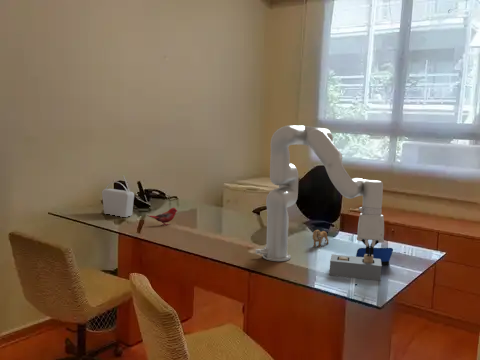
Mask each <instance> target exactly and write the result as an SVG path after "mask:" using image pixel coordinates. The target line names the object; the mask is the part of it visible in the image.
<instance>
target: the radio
mask: <svg viewBox="0 0 480 360" xmlns="http://www.w3.org/2000/svg"><path fill="white" fill-rule="evenodd" d="M122 178H123V179H124V183H125V185H126V186H125V185H124V184H122V183H121V182H119V181H116V183H117V184H120V185H121V186H123V188H124V190H123V189H116V188H108V187H109V186H110V185H111V184H113V183H114V181H112V182H110V183H109V184H108V185H107V186H106V187H105V188H104V189H102V191H101V195H102V196H101V197H102V205H103V214H105V215H106V214H110V215H109V216H112V215H115V216H114V217H117V216H120V217H119V218H122V217H126V218H129V217H128V216H130V217H132V216H133V212H134V211H133V208H134V200H135V192H133V191H130V190H131V189H129V186H128V182H127V180H126V178H125V175H122ZM131 215H132V216H131Z"/></svg>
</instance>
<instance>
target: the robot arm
mask: <svg viewBox="0 0 480 360" xmlns="http://www.w3.org/2000/svg"><path fill="white" fill-rule="evenodd" d="M333 139H334V137H333V134H332V132H331V131H330V130H329V129H328V128H324V127H315V126H308V125H307V126H306V125H299V124H298V125H297V124H296V125H295V124H294V125H293V124H288V125H284V126H282V127H280V128H278V129H277V130H276V131H274V133H273V134H272V136H271V139H270V158H269V161H270V163H269V180H270V182H271V183H272V184H273V185H274V186H278V187H277V188H274V189H272V190H270V191H269V193H268V194H267V195H266V199H265V205H266V213H267V214H266V216H267V217H266V243H265V244H266V246H264V247H263V248H261V249H260V248H258V249H257V248H256V249H255V254H260V255H262V258H263V259H264V260H267V261H271V262H286V261H287V262H288V261H289V260H291V256H292V255H291V254H289V253H288V242H289V221H290V220H289V219H290V218H289V212H288V208H290V207H293V206H294V205H295V204H296V203H297V200H298V196H299V195H298V194H299V171H298V169H297V167H296V166H295V165H294V164H293V163H291V161H290V160H291V152H290V149H289V147H290V146H292V145H293V146H294V145H295V146H297V145H303V146H309V147H310V149H311V150H312V152H313V153H314V154H315V156H316V157H317V158H318V159H319V160H320V161H319V162H321V164H322V165H323V166H324V167H325V171H326V173H327V175H328V177H329V180H330V181H331V184H333V186H334V188H335V189H336V190H337V191H338V193H340V195H341V196H343V197H344V198H346V199H354V198H356V197H361V196H362V206H359V207H358V212H360V214H359V217H358V224H357V236H356V241H359V242H361V243H363V244H364V245H365V248H366V254H367V256H369V251H370V256H371V255H372V254H373V251H374V248H375V246H377V245H378V244H381V243H384V242H385V240H384V236H385V218H384V215H383V214H382V212H383V211H382V209H383V190H384V183H383V181H381V180H375V179H365V178H364V179H363V178H360V177H353V178H352V177H351V176H350V175H349V173H348V172H347V171H346V169H345V167H344V165H343V154H342V152H341V151H340V150H339V149H338V147H337V146H336V145H335V144H334V142H333ZM369 241H371V244H370V243H369Z"/></svg>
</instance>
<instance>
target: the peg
mask: <svg viewBox="0 0 480 360" xmlns="http://www.w3.org/2000/svg"><path fill="white" fill-rule="evenodd" d="M364 262H365V263H373V255H371V256H370V254H369V256H367V254H365V255H364Z"/></svg>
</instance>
